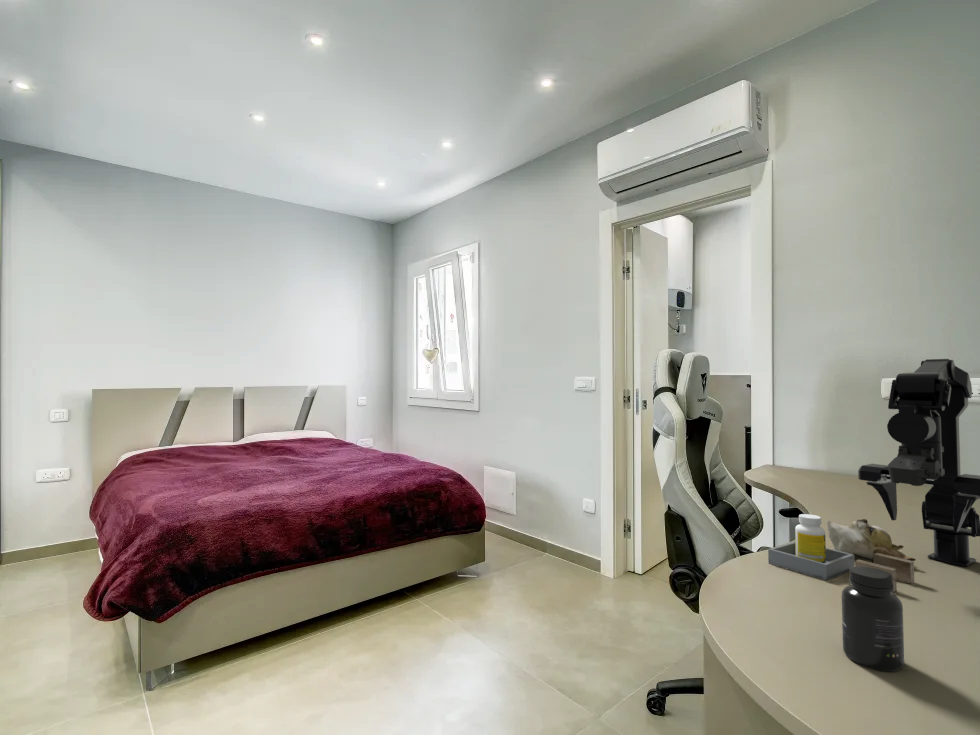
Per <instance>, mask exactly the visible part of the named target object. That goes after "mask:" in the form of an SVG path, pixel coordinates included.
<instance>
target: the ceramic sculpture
mask: <svg viewBox="0 0 980 735" xmlns="http://www.w3.org/2000/svg"><path fill="white" fill-rule="evenodd" d="M826 525H827V532H828V538H829V539H830V540H829V541H830V542H831V543H832V546H833V550H837V551H841V552H845V553H849V554H853V555H857V556H860V557H862V558H865V559H869V560H874V554H875V553H881V554H885V555H889V556H893V557H897V558H902V559H906V560H910V561H914V562H915V561H916V558H915V557H910V556H907V555H906V554H904V553H903V552H901V551H899V550H903V549H904V546H905V545H902V544H901V545H900V544H898V545H897V544H895V543H893V541H892V538H891V535H890V534H889V533H888V531H886V530H885V529H884V528H882V527H880V526H878V525H872V524H869V522H868V520H867V519H865V518H862V519H857V520H853V521H852V523H851V524H850V525H849V524H848V525H843V524H842V525H841V524H838V523H836V522H834V521H833V522H832V521H831V520H827V521H826Z"/></svg>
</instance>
